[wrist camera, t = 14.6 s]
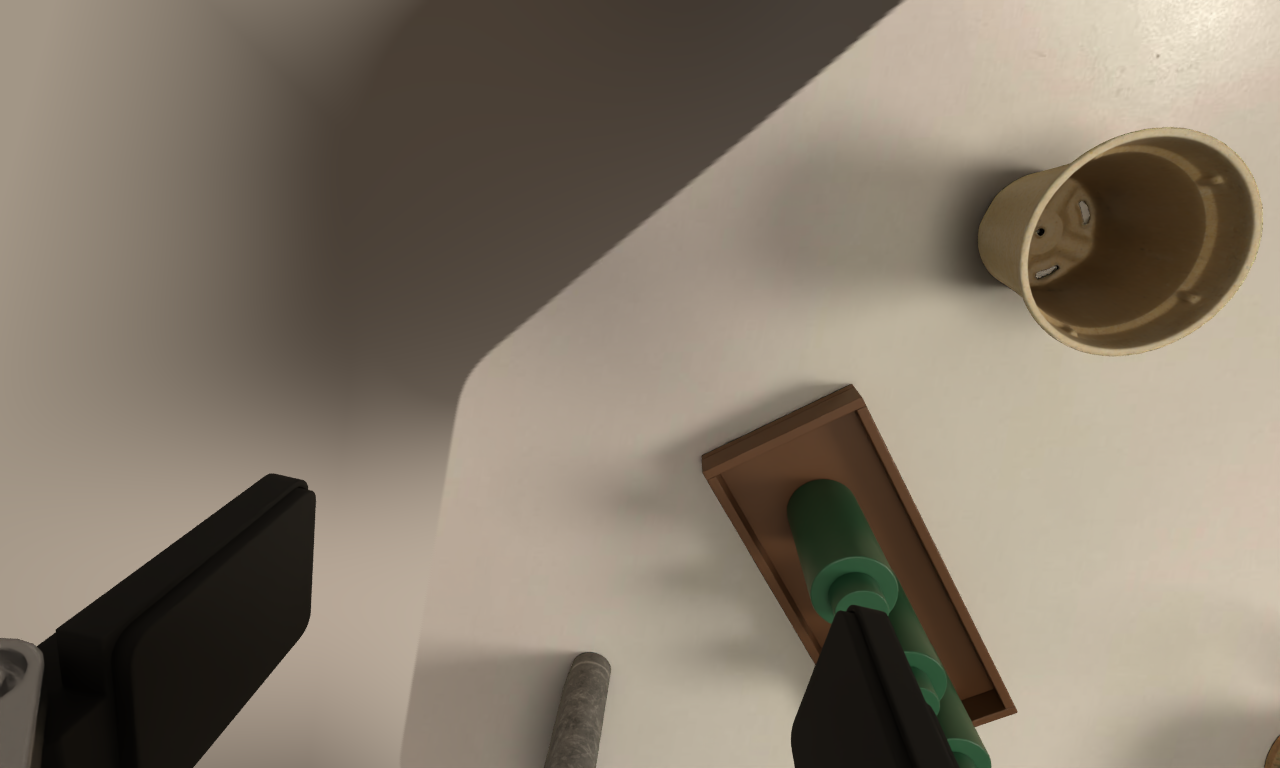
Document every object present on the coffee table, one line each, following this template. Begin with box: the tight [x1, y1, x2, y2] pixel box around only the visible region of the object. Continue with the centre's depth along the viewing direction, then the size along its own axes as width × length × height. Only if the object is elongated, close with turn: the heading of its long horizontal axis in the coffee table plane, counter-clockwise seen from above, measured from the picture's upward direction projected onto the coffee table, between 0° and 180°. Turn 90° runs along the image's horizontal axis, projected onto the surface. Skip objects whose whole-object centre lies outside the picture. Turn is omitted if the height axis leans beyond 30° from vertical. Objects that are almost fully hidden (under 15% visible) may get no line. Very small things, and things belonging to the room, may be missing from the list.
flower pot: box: [978, 127, 1263, 356], centre depth 31 cm, size 9×9×9 cm
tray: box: [702, 384, 1017, 727], centre depth 41 cm, size 25×10×2 cm, turn 30°
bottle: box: [787, 479, 898, 624], centre depth 36 cm, size 4×4×10 cm
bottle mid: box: [888, 570, 947, 716], centre depth 37 cm, size 4×4×10 cm
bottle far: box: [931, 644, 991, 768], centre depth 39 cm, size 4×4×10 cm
